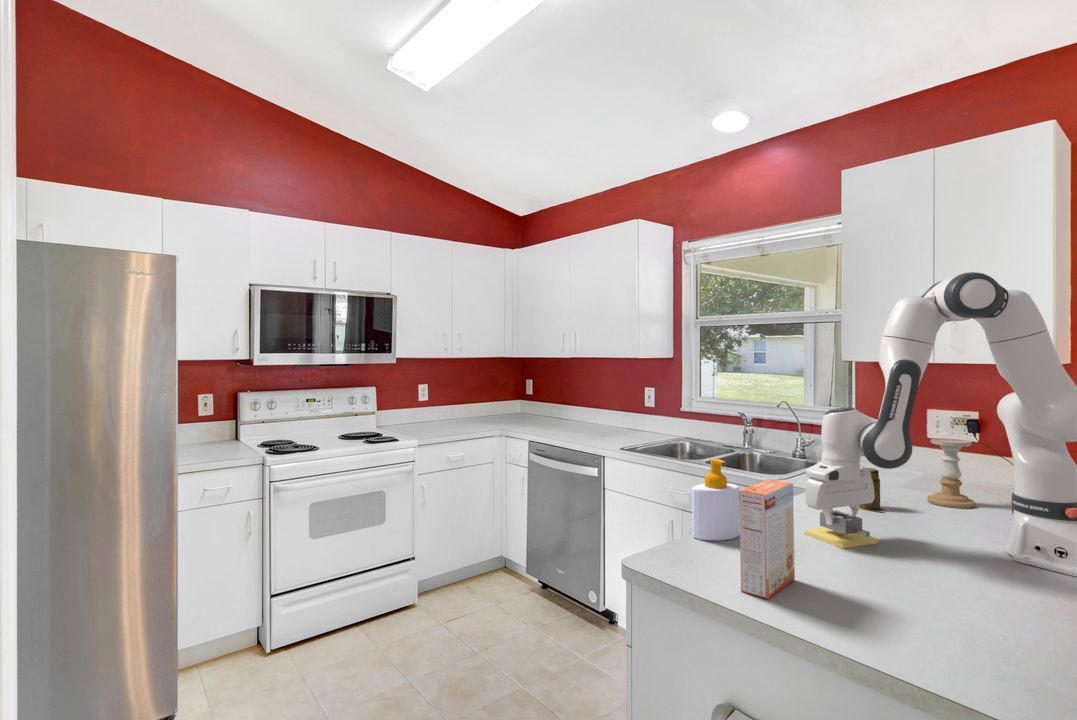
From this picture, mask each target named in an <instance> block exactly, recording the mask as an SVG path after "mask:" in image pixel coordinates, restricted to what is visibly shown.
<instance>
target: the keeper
mask: <svg viewBox="0 0 1077 720" xmlns="http://www.w3.org/2000/svg"><path fill="white" fill-rule="evenodd" d="M837 517H840V518H843V519H844V517H841V516H837ZM803 534H804V535H807V536H808V537H811V538H813V539H816V540H819V541H822V542H824V543H826V544H830V545H833V546H835V547H838V548H840V549H849V548H855V547H862V546H868V545H872V544H873V545H875V544H879V538H877V537H875V536H872V535H870V536H864V535H861V534H858V533H854V534H847V535H845V534H842V533H839V532H837V531H834V530H831V529H828V528H825V527H818V528H812V529H805V530H804V533H803Z"/></svg>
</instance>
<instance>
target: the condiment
mask: <svg viewBox="0 0 1077 720" xmlns="http://www.w3.org/2000/svg"><path fill="white" fill-rule="evenodd" d="M866 468H867V469H868V470H869V471H870V472H871V478H872V481H873V486H874V500H873V502H872V503H867V504H859V509H861V510H867V511H873V512H880V513H885V512H888V511H890V510H891V509H892V508H891V507H885V506H881V479H880V474H879V471H880V470H878V469H875V468H869V467H866Z"/></svg>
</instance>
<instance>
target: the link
mask: <svg viewBox="0 0 1077 720" xmlns="http://www.w3.org/2000/svg"><path fill="white" fill-rule="evenodd" d="M831 514H832V516H833V517H834V518H836V521H835V522H836V523H835V524H834V525H829V524H827V523H826V517H825V515H824V513H823V512H822V511H821V512H819V526H820V527H821V528H823V527H825V528H828V529H831V530H834V531H837V532H839V533H842V534H845V535H847V534H854V533H858V534H861V535H864V536H871V533H870V531H868V530H864V529H863V518H862V517H859V516H857V515H856V516H852V515H849V514H848V513H846V512H842V511H839V510H833V512H831ZM837 516H841V517H844V519H843V518H840V517H837Z"/></svg>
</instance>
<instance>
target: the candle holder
mask: <svg viewBox="0 0 1077 720" xmlns="http://www.w3.org/2000/svg"><path fill="white" fill-rule="evenodd" d="M930 443H932V444H933V445H938V446H939V447H940V449H941V450H942V451H943V455H941V457H940V459H941V461H942V466H941V469H940V471H939V475H940V477H942V478H941V479H939V483H940V485H941V491H936V492H934V493H933V494H929V495H927V497H926V500H927V502H929V503H931V504H933V505H936V506H940V507H946V508H955V509H971V508H975V507H976V502H975V501H974V500H972V499H971V498H969V497H968V496H967V495H964V494H961V490H960V487H961V486H962V485H963V482H962V481H961V480H960V478H961V477H962V471H961V469H960V466H959V462H960V461H961V458H960V457H959V456H958V452H959V451H961V449H962V447H970V446H971V445H972V442H971V441H970V440H966V439H957V438H942V437H941V438H938V437H937V438H936V437H935V438H931V439H930Z"/></svg>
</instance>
